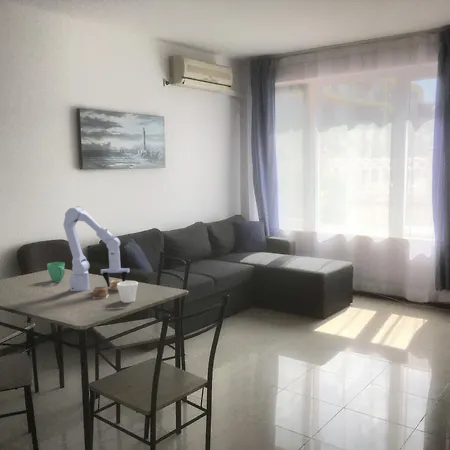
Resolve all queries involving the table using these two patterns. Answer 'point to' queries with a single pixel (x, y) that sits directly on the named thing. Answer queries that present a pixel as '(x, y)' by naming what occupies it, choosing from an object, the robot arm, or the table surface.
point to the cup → (127, 290)
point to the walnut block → (100, 292)
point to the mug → (56, 270)
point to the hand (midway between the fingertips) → (116, 286)
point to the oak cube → (114, 284)
